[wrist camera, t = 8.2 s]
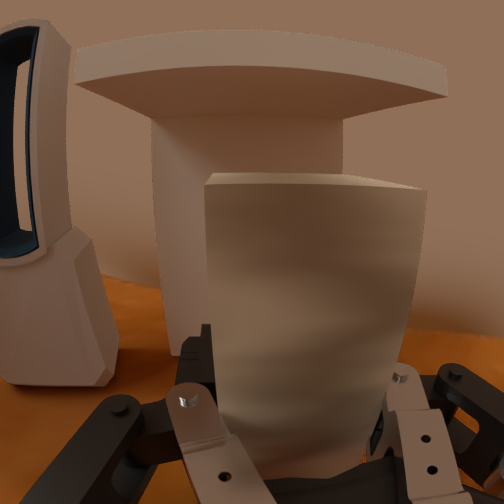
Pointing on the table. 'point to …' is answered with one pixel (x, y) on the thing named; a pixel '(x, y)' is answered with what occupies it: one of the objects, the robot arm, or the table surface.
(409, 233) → the block
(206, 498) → the robot arm
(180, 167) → the white l-shaped panel
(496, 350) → the table surface
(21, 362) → the electronic device
